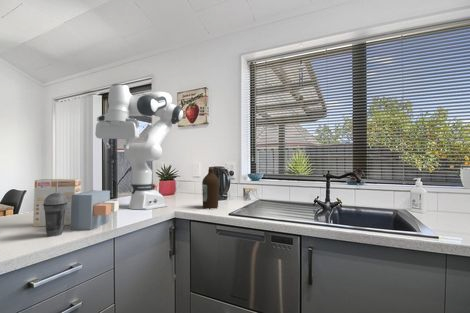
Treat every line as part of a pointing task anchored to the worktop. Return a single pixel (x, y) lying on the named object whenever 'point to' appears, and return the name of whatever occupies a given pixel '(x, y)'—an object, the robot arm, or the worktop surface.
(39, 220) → the coffeecake box
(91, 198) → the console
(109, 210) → the terracotta button
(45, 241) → the worktop surface
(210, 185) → the olive oil
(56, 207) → the beverage cup
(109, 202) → the cream block
